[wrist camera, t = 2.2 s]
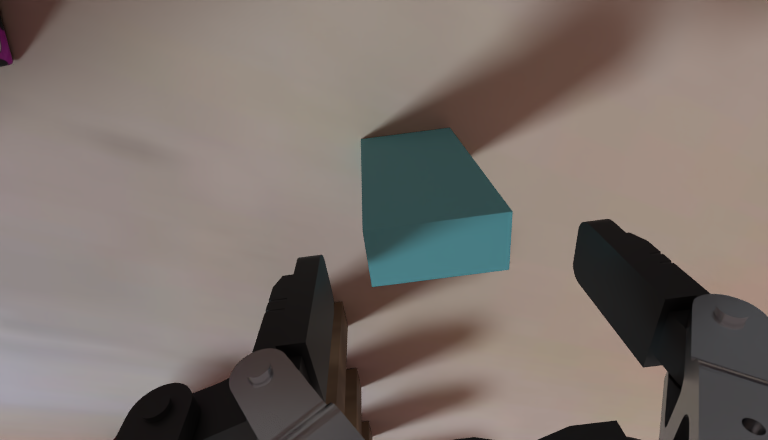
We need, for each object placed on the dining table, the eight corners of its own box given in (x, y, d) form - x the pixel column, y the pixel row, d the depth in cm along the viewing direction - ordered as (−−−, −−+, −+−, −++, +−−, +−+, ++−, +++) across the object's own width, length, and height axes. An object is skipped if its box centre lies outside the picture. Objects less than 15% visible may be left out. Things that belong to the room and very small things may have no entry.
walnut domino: (347, 326, 28) (342, 469, 20) (280, 334, 28) (245, 481, 20) (342, 301, 27) (334, 442, 18) (272, 310, 27) (231, 454, 18)
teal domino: (450, 167, 23) (509, 269, 14) (366, 178, 23) (371, 287, 14) (449, 127, 21) (512, 211, 13) (360, 139, 21) (362, 230, 13)
